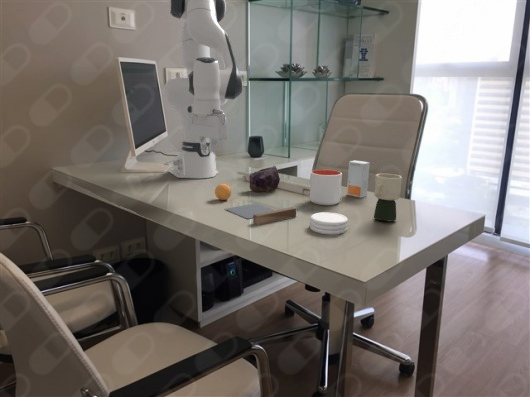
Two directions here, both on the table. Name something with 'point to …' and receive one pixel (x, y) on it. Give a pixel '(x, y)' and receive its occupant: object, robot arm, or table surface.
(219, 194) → the ball
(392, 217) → the character mug
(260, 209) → the grey mark
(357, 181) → the skincare box
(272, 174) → the rock
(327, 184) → the cup
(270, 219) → the walnut bar
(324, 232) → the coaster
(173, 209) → the table surface
